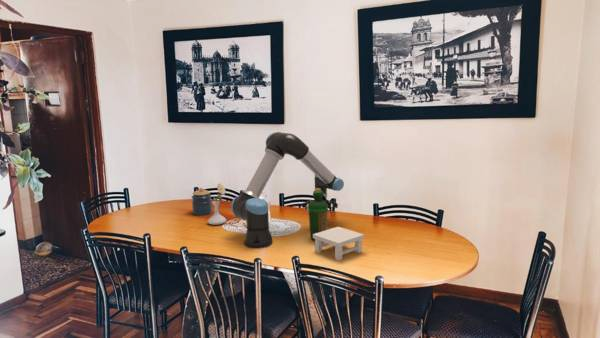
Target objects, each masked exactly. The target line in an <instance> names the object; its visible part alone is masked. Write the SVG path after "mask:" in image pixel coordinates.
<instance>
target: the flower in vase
mask: <svg viewBox="0 0 600 338" xmlns="http://www.w3.org/2000/svg"><path fill="white" fill-rule="evenodd" d="M216 188H217V191H218V192H217V197H215V196H213V200H214V201H211V204H213V205H212V206H213V207H214V208H213V209H214V213H213V214H212V215H211V217H209V218H208V219H207V223H208V225H209V224H210V225H214V226H216V225H217V226H218V225H223V224H225V223H226V222H227V219H226V218H225V216H223V215H221V214H220V212H219V205H220V203H221V201H220V200H218V199H222V198H223V196H225V194H226V189H225V187H224V185H223V184H222V183H217V185H216Z"/></svg>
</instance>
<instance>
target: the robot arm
mask: <svg viewBox="0 0 600 338" xmlns="http://www.w3.org/2000/svg"><path fill="white" fill-rule="evenodd" d="M264 152H265V154H264V156H263V157H262V158H261V161H260V162H259V164H258V167H257V169H256V170H255V172H254V174H253V176H252V178H251V180H250V181H249V183H248V184H247V185H248V186H247V187H246V189H245V190H242V191H241V192H240V194H239V195H237V196H235V197H234V198H233V199H232V201H231V203H230V209H231V212H232V214H233V215H234V217H237V218H238V219H241V220H243V221H245V222H246V231H245V232H246V233H245V235H244V239H243V245H244V246H245V247H247V248H250V249H251V248H252V249H262V248H267V247H270V246H271V245H272V244H273V243H274V241H273V240H274V239H273V237H272V236H273V235H272V234H271V231H270V225H269V224H270V222H269V220H270V219H269V211H270V209H269V204H268V202H267V200H265V199H263V198H260V197H261V195H262V193H263V191H264V189H265V187H266V185H267V183H268V181H269V180H270V178H271V176H272V174H273V172H274V170H275V169H276V166H277V165H278V164H279V161H281V160H283V159H284V157H285V155H289V156H291V157H293V158H294V159H295V160H297V161H300V162H301V163H302V164H304V166H305V167H307V168H308V169H309V170H310V171H311V173H313V174H314V179H313V180H314V189H315V188H321V191H322V192H323V196H322V200H323V201H325V202H326V203H327V205H328V208H330V212H333V209H337V208H338V203H337V202H335V201H333V200H332V199H329V200H327V199H328V190H332V191H336V192H338V191H339V192H340V191H341V190H343V188H344V186H345V184H344V183H345V182H344V180H343V179H342V178H340V177H336V175H335V174H334V173H333V172H331V170H330V169H328V168H327V166H326V165H325V164H323V163H322V161H321V160H319V159H318V157H316V155H314V154H313V153H312V151H310V147H309V146H308V145H307V144H306V143H305V142H304V141H303V140H302V139H300V138H299V137H298V136H297V135H296V134H293V133H290V132H289V133H287V132H281V131H277V132H272V133H270V134H269V135H268V136H267V137H266V140H265V148H264ZM311 201H312V200H311V199H308V200H306V201H304V202H302V203H301V206H302V207H301V208H302V209H305V210H306V212H309V210H308V205H309V204H310V202H311Z"/></svg>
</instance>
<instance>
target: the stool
mask: <svg viewBox="0 0 600 338" xmlns="http://www.w3.org/2000/svg"><path fill="white" fill-rule="evenodd" d="M313 238H314V239H315V241H314V245H315V246H314V252H315V253H318V254H319V253H322V252H323V248H324V247H328V246H330V245H331V246H334V260H336V261H342V260H343V255H345V254H348V253H350V252H355V253H357V254H360V253H363V239H365V234H363V233H360V232H357V231H354V230H350V229H347V228H344V227H340V226H336V227H332V228H329V229H327V230H325V231H322V232H319V233H315V234H313ZM351 243H352V244H353V243H354V246H353V247H350V248H348V249H345V250H343V247H344V246H346V245H349V244H351Z"/></svg>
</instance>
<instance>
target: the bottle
mask: <svg viewBox="0 0 600 338" xmlns="http://www.w3.org/2000/svg"><path fill="white" fill-rule="evenodd" d="M312 196H313V200H311V202H310V204H309V205H308V221H309V234H310V235H309V236H310V239H311V240H312V241H314V242H315V239H314V238H313V234H315V233H319V232H322V231H325V230H328V214H329V207H328V205H327V203H326V202H325V201H323V200H322V196H323V192H322V191H321V188H315V187H314V190H313V192H312Z"/></svg>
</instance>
